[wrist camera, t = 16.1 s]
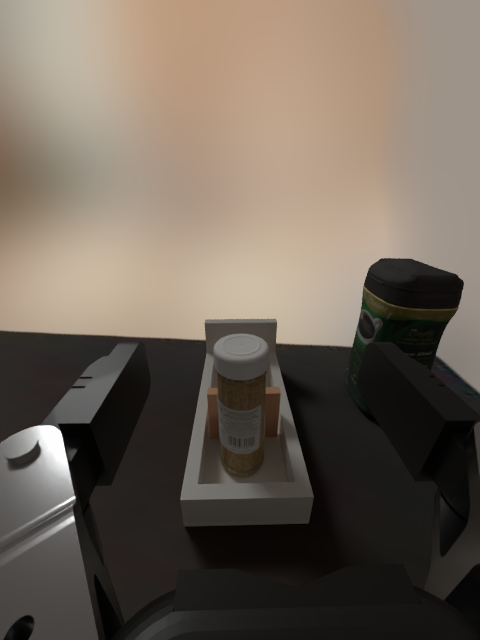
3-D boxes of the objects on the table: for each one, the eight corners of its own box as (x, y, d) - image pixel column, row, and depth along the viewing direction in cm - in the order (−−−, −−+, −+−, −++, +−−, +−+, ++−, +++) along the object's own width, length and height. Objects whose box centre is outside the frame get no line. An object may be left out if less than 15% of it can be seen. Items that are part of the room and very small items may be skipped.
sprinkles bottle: (268, 446, 28) (275, 336, 22) (256, 486, 24) (260, 365, 18) (229, 434, 29) (225, 328, 24) (211, 470, 25) (202, 353, 20)
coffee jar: (429, 425, 31) (492, 273, 23) (362, 424, 31) (402, 273, 23) (389, 375, 40) (425, 253, 32) (337, 375, 40) (360, 253, 32)
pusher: (277, 436, 29) (280, 393, 26) (210, 438, 28) (207, 394, 26) (268, 388, 36) (270, 351, 33) (215, 389, 36) (213, 351, 33)
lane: (308, 523, 22) (322, 452, 18) (184, 526, 22) (172, 455, 18) (272, 366, 42) (275, 318, 38) (208, 367, 42) (205, 319, 38)
